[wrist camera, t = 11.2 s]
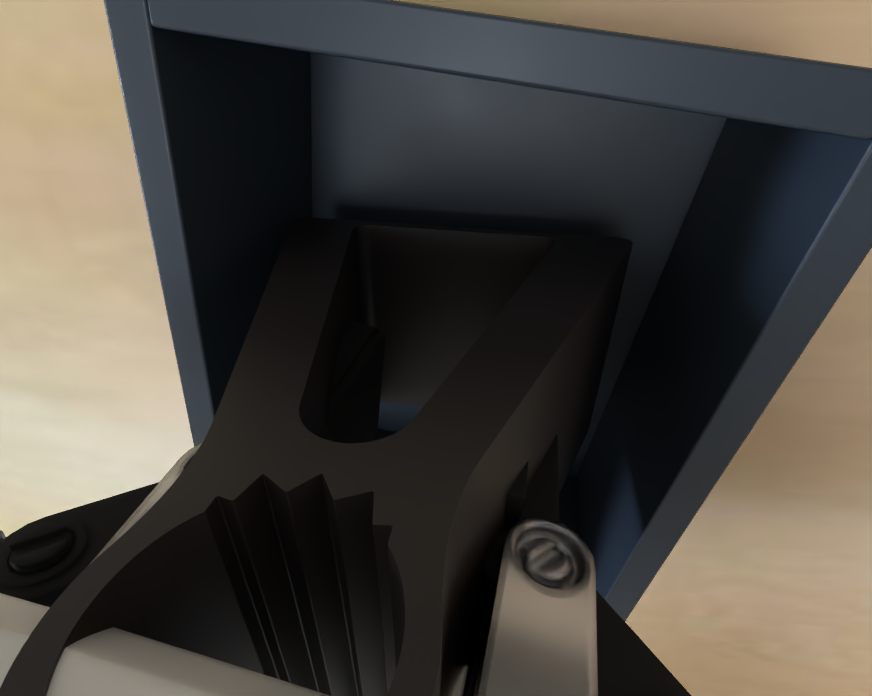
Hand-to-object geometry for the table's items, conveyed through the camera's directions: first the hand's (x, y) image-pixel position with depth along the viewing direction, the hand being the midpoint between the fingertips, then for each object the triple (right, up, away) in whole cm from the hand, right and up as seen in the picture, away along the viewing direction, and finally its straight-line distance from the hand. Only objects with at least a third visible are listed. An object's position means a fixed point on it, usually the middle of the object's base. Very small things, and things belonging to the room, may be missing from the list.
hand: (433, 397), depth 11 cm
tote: (+1, +3, +5) cm, 6 cm away
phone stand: (+1, +2, +3) cm, 4 cm away
